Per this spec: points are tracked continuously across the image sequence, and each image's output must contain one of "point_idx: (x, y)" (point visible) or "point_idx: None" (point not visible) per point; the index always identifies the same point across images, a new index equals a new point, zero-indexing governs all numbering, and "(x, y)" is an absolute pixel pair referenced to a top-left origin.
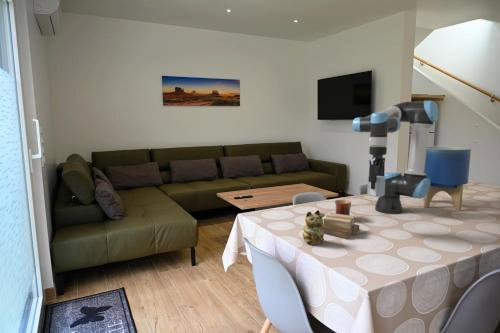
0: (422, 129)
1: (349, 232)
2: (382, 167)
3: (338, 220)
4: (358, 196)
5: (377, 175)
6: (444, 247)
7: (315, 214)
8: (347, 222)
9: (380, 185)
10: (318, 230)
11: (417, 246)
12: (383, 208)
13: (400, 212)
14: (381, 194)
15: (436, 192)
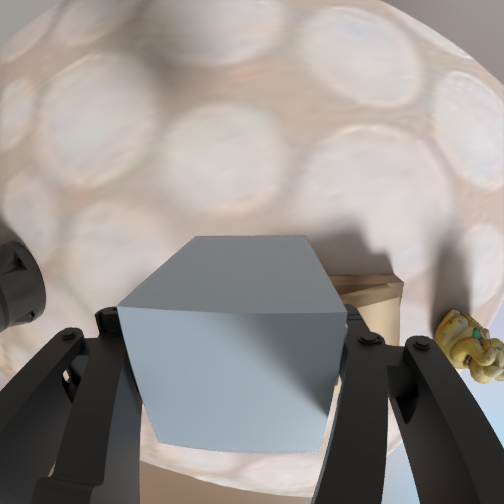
0: None
1: (380, 281)
2: (17, 436)
3: (392, 337)
4: (7, 375)
5: (139, 407)
6: (251, 8)
7: (500, 363)
8: (399, 302)
9: (319, 268)
10: (475, 330)
11: (304, 61)
12: (35, 291)
13: (15, 243)
14: (270, 239)
15: None
